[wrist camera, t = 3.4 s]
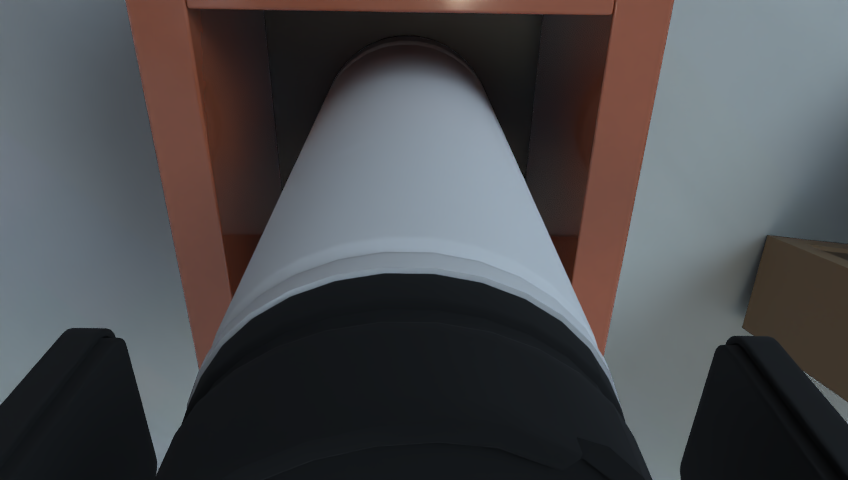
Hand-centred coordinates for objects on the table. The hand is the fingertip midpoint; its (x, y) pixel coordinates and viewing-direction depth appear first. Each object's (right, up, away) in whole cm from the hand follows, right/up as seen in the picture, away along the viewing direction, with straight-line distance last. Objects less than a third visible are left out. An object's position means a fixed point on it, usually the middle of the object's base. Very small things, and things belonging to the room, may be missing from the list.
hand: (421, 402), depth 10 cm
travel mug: (-1, +7, +14) cm, 16 cm away
